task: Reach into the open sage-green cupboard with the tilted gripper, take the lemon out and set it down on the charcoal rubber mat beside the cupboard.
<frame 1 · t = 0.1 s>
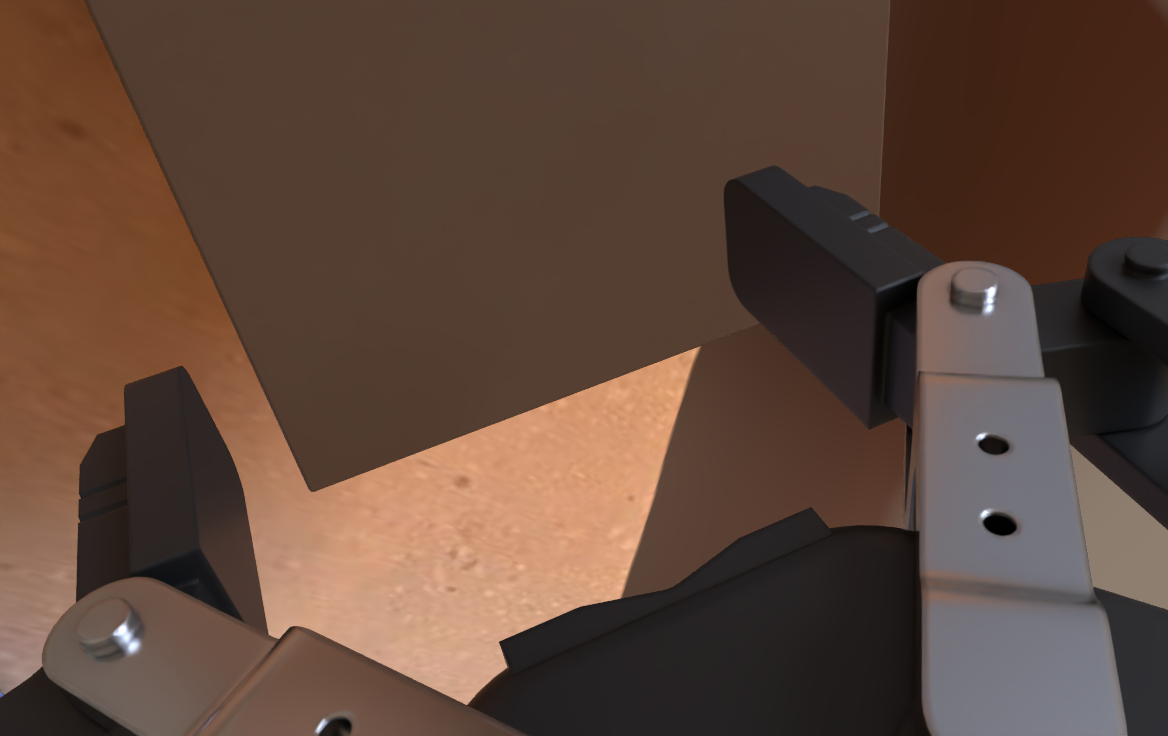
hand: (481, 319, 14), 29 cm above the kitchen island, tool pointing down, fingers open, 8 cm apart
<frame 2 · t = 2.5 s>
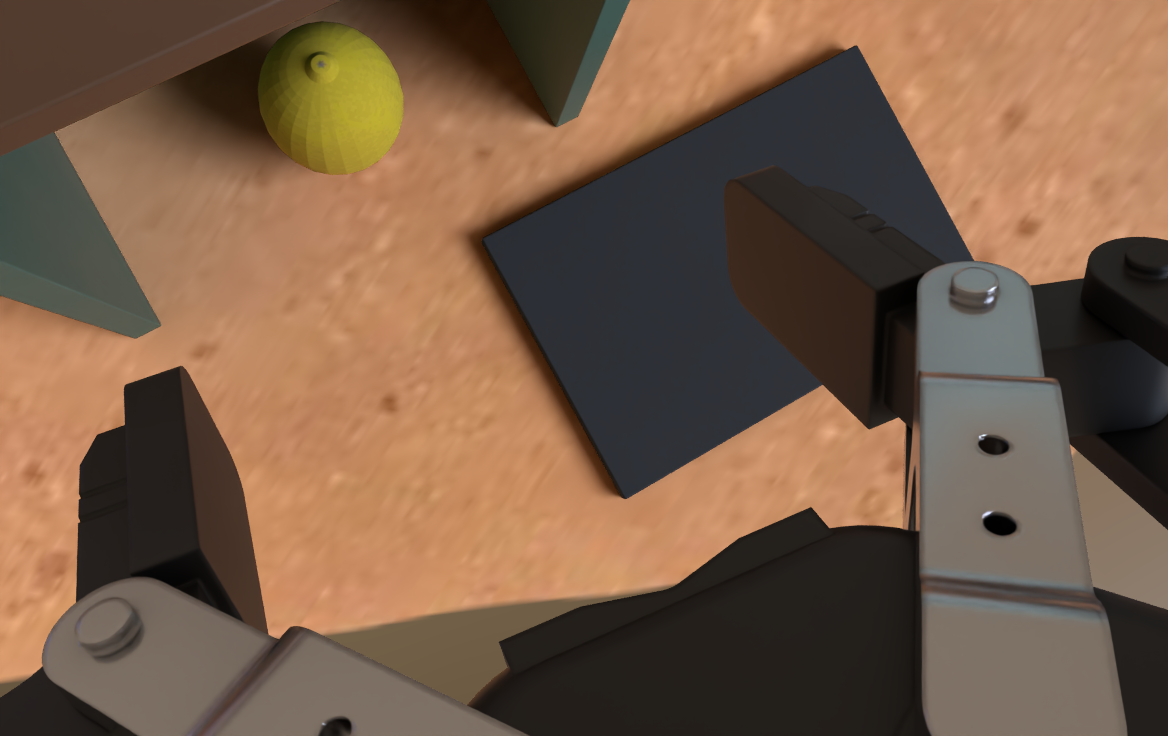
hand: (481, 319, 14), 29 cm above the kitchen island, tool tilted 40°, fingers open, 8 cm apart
lemon: (342, 133, 42), on the kitchen island
mat: (740, 266, 45), on the kitchen island
cupboard: (293, 91, 42), on the kitchen island
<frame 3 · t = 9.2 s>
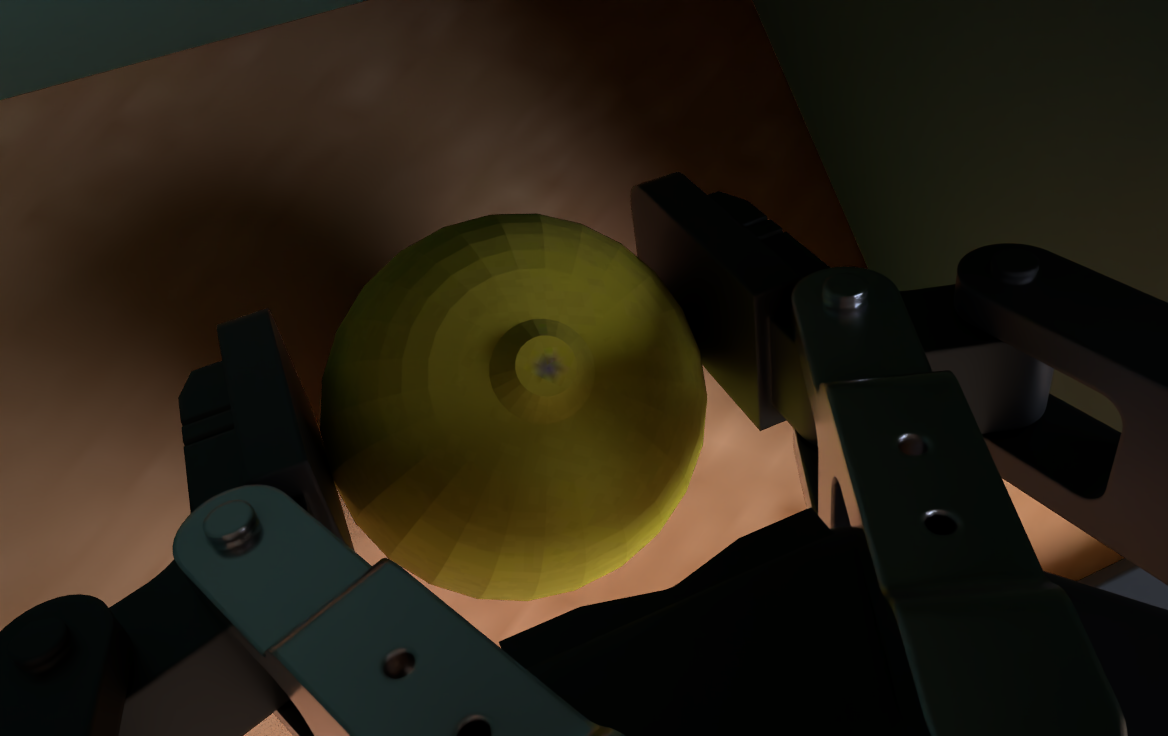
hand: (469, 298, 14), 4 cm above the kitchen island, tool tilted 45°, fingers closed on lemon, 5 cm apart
lemon: (492, 437, 19), on the kitchen island, touching gripper
cupboard: (396, 332, 18), on the kitchen island
when the fingers open (5 cm above the kitchen island, at t = 19.2 s): lemon stays where it is, resting on mat.
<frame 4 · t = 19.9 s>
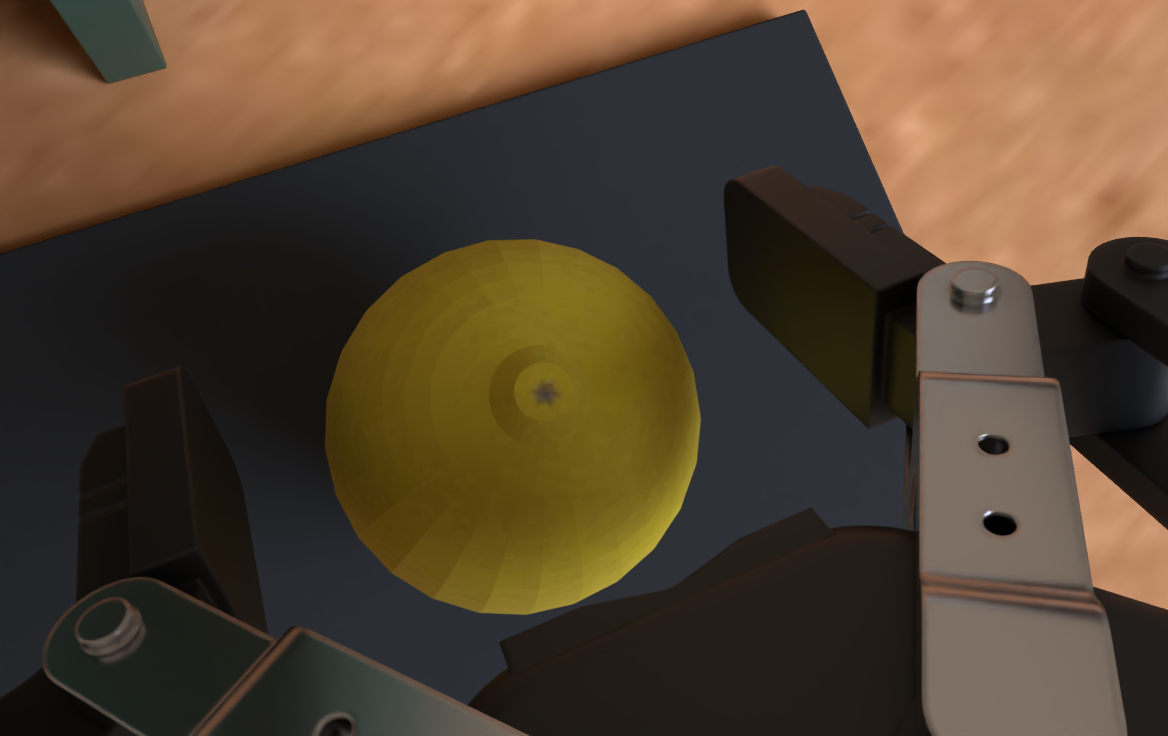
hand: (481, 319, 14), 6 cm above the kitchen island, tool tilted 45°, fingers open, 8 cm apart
lemon: (492, 450, 19), point 1 cm above the kitchen island, touching mat
mat: (486, 445, 20), on the kitchen island
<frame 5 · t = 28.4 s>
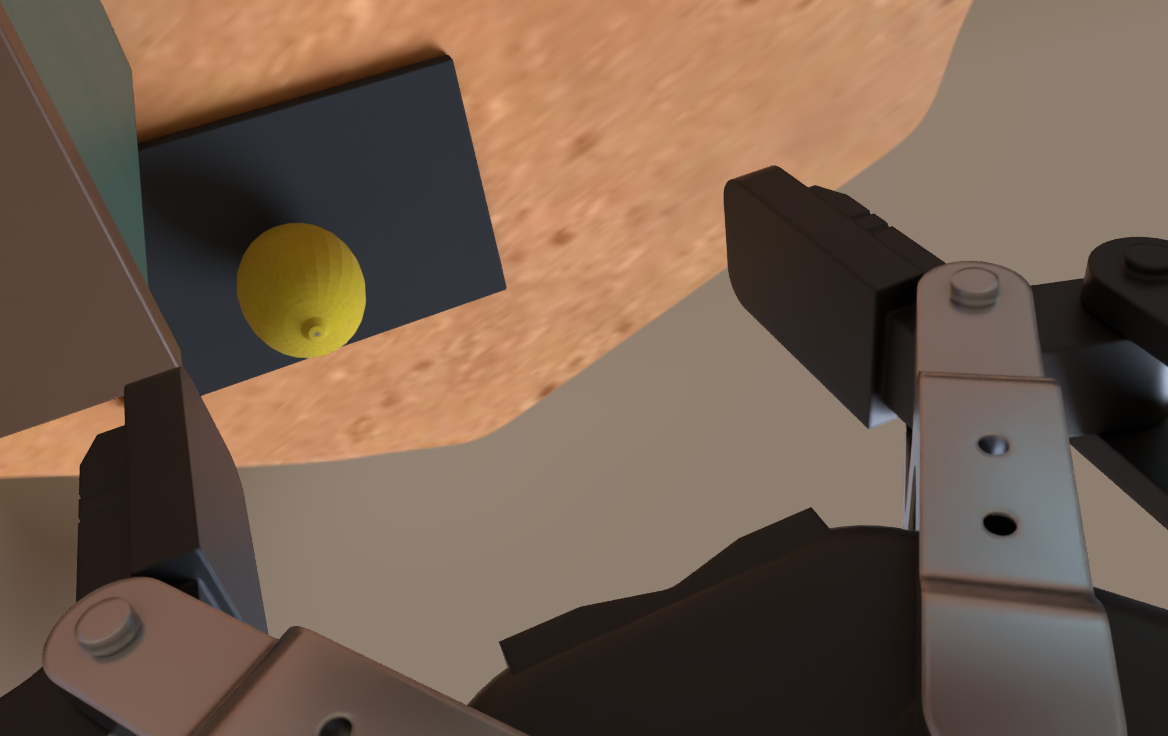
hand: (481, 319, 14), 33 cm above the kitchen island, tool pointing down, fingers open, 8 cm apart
lemon: (288, 247, 47), point 1 cm above the kitchen island, touching mat
mat: (285, 239, 47), on the kitchen island
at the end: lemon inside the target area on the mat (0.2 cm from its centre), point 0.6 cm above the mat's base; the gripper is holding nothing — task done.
